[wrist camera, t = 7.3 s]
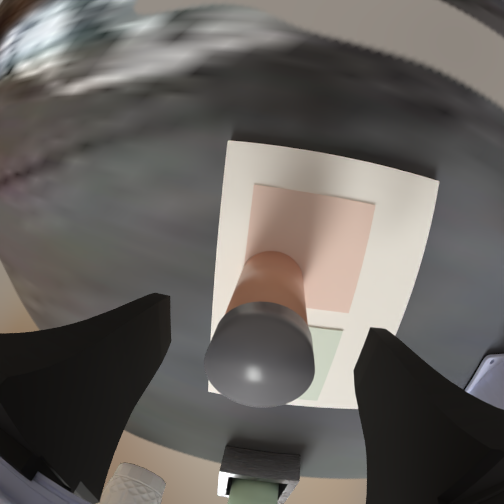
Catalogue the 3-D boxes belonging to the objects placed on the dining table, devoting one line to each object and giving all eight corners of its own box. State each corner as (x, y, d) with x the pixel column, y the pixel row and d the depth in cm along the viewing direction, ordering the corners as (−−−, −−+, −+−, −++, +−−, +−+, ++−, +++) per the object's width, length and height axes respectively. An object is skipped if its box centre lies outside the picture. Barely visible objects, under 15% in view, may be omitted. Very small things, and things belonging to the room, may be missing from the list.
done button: (283, 472, 20) (281, 507, 16) (274, 488, 21) (271, 519, 17) (235, 466, 20) (228, 501, 16) (232, 482, 21) (225, 513, 18)
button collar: (300, 455, 21) (299, 481, 18) (284, 482, 23) (283, 503, 20) (225, 445, 21) (219, 471, 18) (222, 474, 23) (217, 495, 20)
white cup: (106, 458, 27) (78, 509, 18) (140, 459, 25) (112, 521, 15) (144, 486, 29) (124, 535, 19) (182, 488, 27) (163, 546, 17)
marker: (308, 252, 14) (325, 333, 7) (299, 312, 15) (303, 411, 9) (240, 245, 14) (203, 319, 8) (237, 305, 15) (205, 399, 9)
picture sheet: (434, 180, 13) (440, 181, 12) (358, 403, 18) (360, 409, 17) (230, 141, 13) (227, 140, 13) (210, 385, 19) (208, 392, 18)
